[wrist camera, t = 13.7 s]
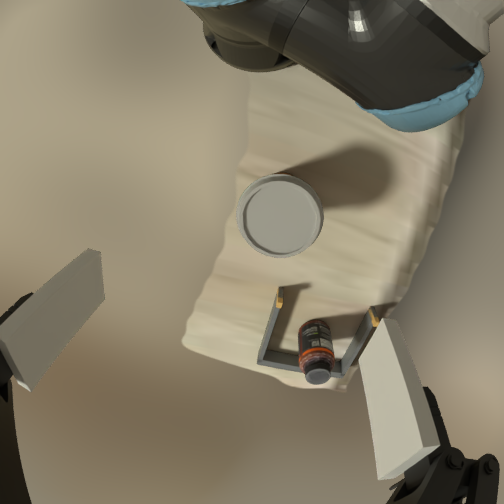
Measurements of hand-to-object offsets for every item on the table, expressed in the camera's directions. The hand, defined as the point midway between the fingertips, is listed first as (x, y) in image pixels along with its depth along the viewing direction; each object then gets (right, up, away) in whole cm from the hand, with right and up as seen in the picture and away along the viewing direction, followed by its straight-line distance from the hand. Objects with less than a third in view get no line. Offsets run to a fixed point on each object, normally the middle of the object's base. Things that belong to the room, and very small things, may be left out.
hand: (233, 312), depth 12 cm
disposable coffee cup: (+5, +11, +29) cm, 31 cm away
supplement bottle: (+12, -12, +38) cm, 42 cm away
